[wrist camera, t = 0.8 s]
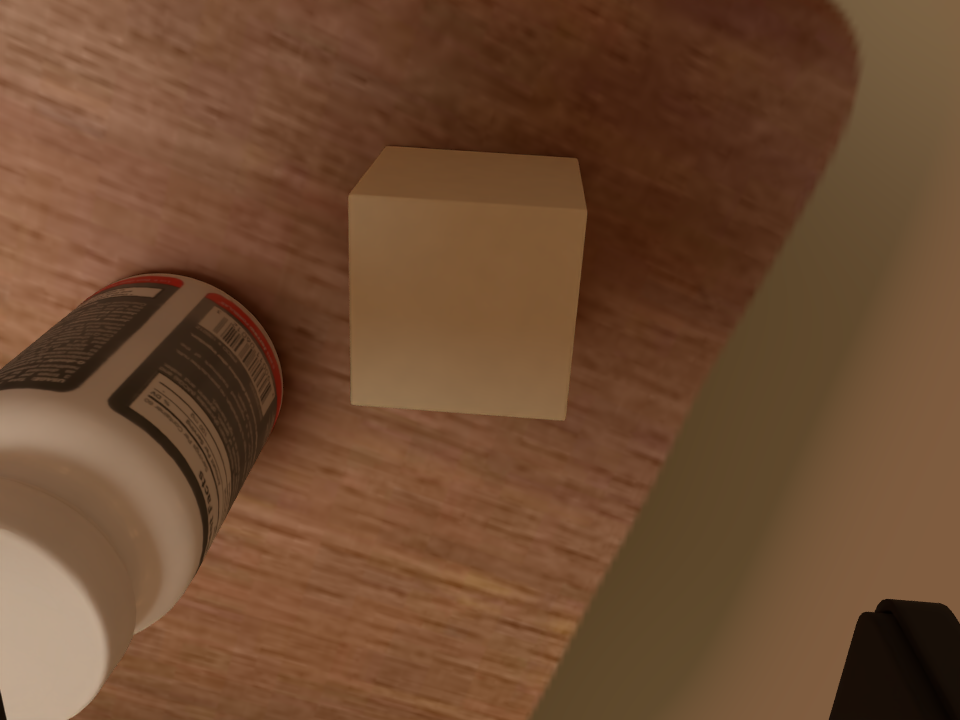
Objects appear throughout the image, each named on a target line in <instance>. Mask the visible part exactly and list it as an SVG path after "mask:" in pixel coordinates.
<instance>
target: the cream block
mask: <svg viewBox="0 0 960 720" xmlns="http://www.w3.org/2000/svg"><path fill="white" fill-rule="evenodd" d="M586 222H587V207H586V202H585V196H584V190H583V185H582V179H581V174H580V168H579V162H578V159H577V158H568V157H552V156H537V155H521V154H506V153H490V152H475V151H459V150H444V149H428V148H413V147H397V146H386V147H385V148H384V149H383V150H382V152H381V153H380V154H379V156H378V157H377V158H376V160H375V161H374V162H373V164H372V165H371V166H370V168H369V169H368V170H367V171H366V173H365V174H364V175H363V177H362V178H361V179H360V181H359V182H358V183H357V185H356V186H355V187H354V188H353V190H352V191H351V192H350V194H349V196H348V237H349V318H350V399H351V404H352V405H358V406H372V407H385V408H399V409H412V410H426V411H439V412H453V413H466V414H479V415H493V416H506V417H520V418H533V419H547V420H560V421H563V420H565V418H566V412H567V402H568V393H569V383H570V374H571V364H572V355H573V345H574V336H575V326H576V317H577V307H578V298H579V288H580V279H581V269H582V260H583V250H584V241H585V232H586Z"/></svg>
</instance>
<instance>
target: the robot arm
mask: <svg viewBox="0 0 960 720" xmlns="http://www.w3.org/2000/svg"><path fill="white" fill-rule="evenodd" d="M0 720H7V718H6V714H5V709H4V705H3V700H2V696H1V692H0ZM829 720H960V624H959V622H958V620H957V619H956V617H955V616H954V614H953V613H952V611H951V610H950V609H949V608H948V607H947V606H945V605H943V604H941V603H930V602H918V601H905V600H893V599H885V600H882V601H881V602H880V603H879V604H878V606H877V608H876V610H875V612H864V613H862V614H861V615H860V616H859V619H858V621H857V624H856V628H855V631H854V634H853V638H852V641H851V645H850V648H849V651H848V655H847V659H846V662H845V666H844V669H843V673H842V676H841V679H840V683H839V686H838V690H837V693H836V697H835V700H834V704H833V707H832V710H831V714H830V717H829Z"/></svg>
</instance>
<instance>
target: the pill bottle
mask: <svg viewBox="0 0 960 720" xmlns="http://www.w3.org/2000/svg"><path fill="white" fill-rule="evenodd" d="M282 397H283V377H282V370H281V366H280V362H279V358H278V355H277V352H276V350H275V348H274V345H273V343H272V341H271V339H270V338H269V336H268V334H267V333H266V331H265V330H264V328H263V327H262V325H261V324H260V323H259V322H258V320H257V319H256V318H255V317H254V316H253V315H252V314H251V313H250V312H249V311H248V310H247V309H246V308H245V307H244V306H243V305H242V304H240V303H239V302H238V301H237V300H235V299H234V298H232V297H231V296H229V295H228V294H226V293H225V292H223V291H221V290H220V289H218V288H216V287H214V286H212V285H210V284H207V283H205V282H202V281H199V280H196V279H193V278H190V277H186V276H181V275H175V274H164V273H154V274H142V275H136V276H132V277H128V278H125V279H122V280H119V281H116V282H114V283H112V284H110V285H108V286H106V287H104V288H103V289H101V290H99V291H98V292H96V293H95V294H94V295H92V296H90V297H89V298H87V299H86V300H85V301H84V302H83V303H81V304H80V305H79V306H78V307H77V308H76V309H75V310H73V311H72V312H71V313H69V314H68V315H67V316H66V317H65V318H63V319H62V320H61V321H60V322H58V323H57V324H56V325H55V326H53V327H52V328H51V329H50V330H48V331H47V332H46V333H45V334H43V335H42V336H41V337H40V338H39V339H37V340H36V341H35V342H34V343H33V344H31V345H30V346H29V347H28V348H26V349H25V350H24V351H23V352H21V353H20V354H19V355H18V356H16V357H15V358H14V359H13V360H11V361H10V362H9V363H8V364H6V365H5V366H4V367H3V368H2V369H0V692H1V696H2V700H3V705H4V709H5V714H6V718H7V720H68V719H70V718H72V717H73V716H75V715H76V714H78V713H79V712H80V711H81V710H83V709H84V708H85V707H86V706H87V705H88V704H89V703H90V702H91V701H92V700H93V699H94V698H95V696H96V695H97V694H98V692H99V691H100V689H101V688H102V686H103V685H104V683H105V682H106V680H107V679H108V677H109V676H110V674H111V673H112V671H113V670H114V668H115V667H116V666H117V664H118V663H119V661H120V660H121V658H122V657H123V655H124V653H125V652H126V650H127V648H128V646H129V644H130V642H131V640H132V637H133V635H134V634H136V633H138V632H140V631H142V630H144V629H145V628H147V627H149V626H150V625H152V624H153V623H155V622H156V621H158V620H159V619H160V618H162V617H163V616H164V615H165V614H166V613H167V612H168V611H170V610H171V609H172V608H173V606H174V605H175V604H176V603H177V602H178V600H179V599H180V598H181V596H182V595H183V594H184V593H185V591H186V589H187V587H188V586H189V584H190V583H191V581H192V579H193V578H194V576H195V575H196V573H197V571H198V569H199V567H200V565H201V563H202V561H203V559H204V557H205V555H206V554H207V552H208V550H209V548H210V546H211V544H212V542H213V540H214V538H215V537H216V535H217V533H218V531H219V529H220V527H221V525H222V523H223V521H224V520H225V518H226V516H227V514H228V512H229V510H230V508H231V506H232V504H233V503H234V501H235V499H236V497H237V495H238V493H239V491H240V489H241V487H242V486H243V484H244V482H245V480H246V478H247V476H248V474H249V472H250V471H251V469H252V467H253V465H254V463H255V461H256V459H257V458H258V456H259V454H260V452H261V450H262V448H263V446H264V445H265V443H266V441H267V439H268V437H269V435H270V433H271V431H272V429H273V427H274V425H275V423H276V420H277V418H278V415H279V412H280V408H281V404H282Z"/></svg>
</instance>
